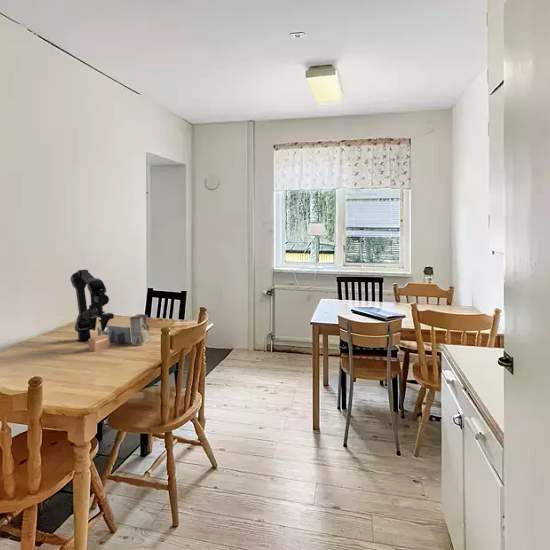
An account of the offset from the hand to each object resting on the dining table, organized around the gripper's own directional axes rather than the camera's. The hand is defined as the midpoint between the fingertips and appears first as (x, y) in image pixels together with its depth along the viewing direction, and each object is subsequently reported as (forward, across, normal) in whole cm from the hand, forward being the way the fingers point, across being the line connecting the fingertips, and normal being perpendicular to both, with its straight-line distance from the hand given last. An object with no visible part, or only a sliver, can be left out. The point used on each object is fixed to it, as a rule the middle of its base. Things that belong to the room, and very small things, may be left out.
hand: (98, 330), depth 228 cm
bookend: (+10, +6, +11) cm, 16 cm away
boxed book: (+10, 0, 0) cm, 10 cm away
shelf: (+10, -1, +12) cm, 16 cm away
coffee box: (+10, +14, +16) cm, 24 cm away
